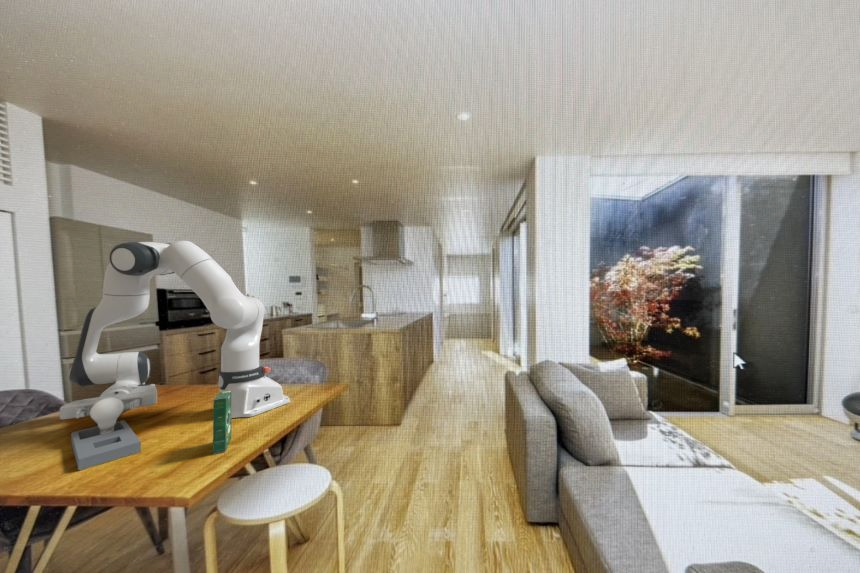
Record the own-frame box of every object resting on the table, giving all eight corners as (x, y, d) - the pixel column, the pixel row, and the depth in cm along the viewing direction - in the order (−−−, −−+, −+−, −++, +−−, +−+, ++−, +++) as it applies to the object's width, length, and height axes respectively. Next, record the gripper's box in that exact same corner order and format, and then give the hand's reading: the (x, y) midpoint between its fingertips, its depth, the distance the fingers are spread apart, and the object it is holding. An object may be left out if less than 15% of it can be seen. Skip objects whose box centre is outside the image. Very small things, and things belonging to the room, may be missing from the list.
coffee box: (219, 440, 79) (219, 390, 79) (232, 438, 80) (232, 389, 80) (211, 455, 71) (212, 399, 72) (225, 452, 72) (226, 397, 73)
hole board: (124, 428, 88) (124, 419, 88) (140, 451, 74) (141, 441, 74) (71, 441, 80) (71, 432, 80) (78, 471, 66) (78, 459, 66)
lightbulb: (121, 431, 86) (122, 392, 87) (124, 437, 82) (125, 397, 83) (88, 439, 81) (89, 399, 82) (89, 446, 77) (90, 403, 78)
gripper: (70, 394, 89) (48, 408, 78) (161, 382, 101) (153, 392, 90) (69, 416, 89) (47, 432, 78) (160, 401, 101) (152, 413, 90)
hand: (105, 411), depth 84 cm, fingers open, 8 cm apart
